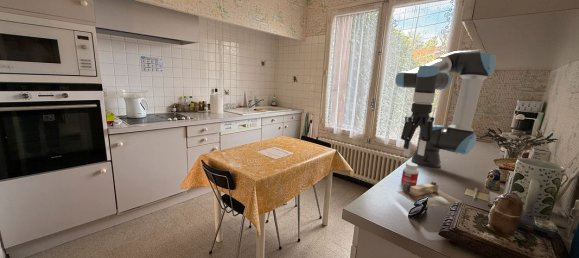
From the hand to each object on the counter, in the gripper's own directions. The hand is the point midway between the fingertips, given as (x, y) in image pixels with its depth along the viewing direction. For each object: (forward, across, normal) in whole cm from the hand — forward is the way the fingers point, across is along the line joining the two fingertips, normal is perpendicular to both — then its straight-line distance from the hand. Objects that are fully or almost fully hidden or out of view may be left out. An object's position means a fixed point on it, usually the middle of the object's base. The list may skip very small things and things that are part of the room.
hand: (413, 155), depth 103 cm
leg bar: (+13, 0, +9) cm, 16 cm away
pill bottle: (+15, 0, 0) cm, 15 cm away
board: (+15, +1, +12) cm, 19 cm away
